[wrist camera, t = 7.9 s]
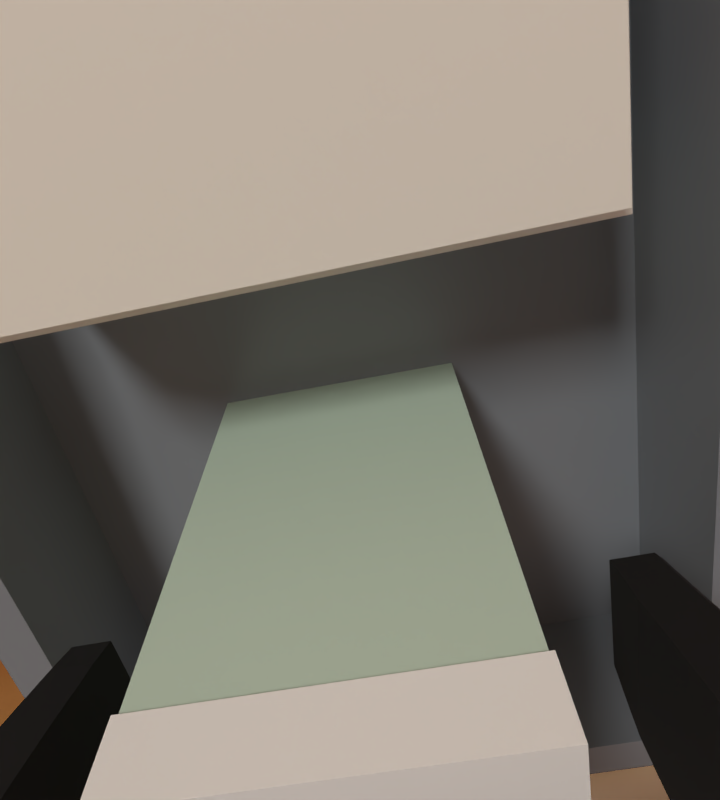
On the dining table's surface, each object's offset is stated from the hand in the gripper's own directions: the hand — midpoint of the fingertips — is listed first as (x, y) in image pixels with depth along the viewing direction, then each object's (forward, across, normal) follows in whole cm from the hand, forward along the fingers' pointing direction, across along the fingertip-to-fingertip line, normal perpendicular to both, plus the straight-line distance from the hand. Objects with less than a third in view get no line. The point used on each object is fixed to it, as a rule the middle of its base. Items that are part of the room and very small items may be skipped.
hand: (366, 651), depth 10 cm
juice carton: (+5, 0, 0) cm, 5 cm away
